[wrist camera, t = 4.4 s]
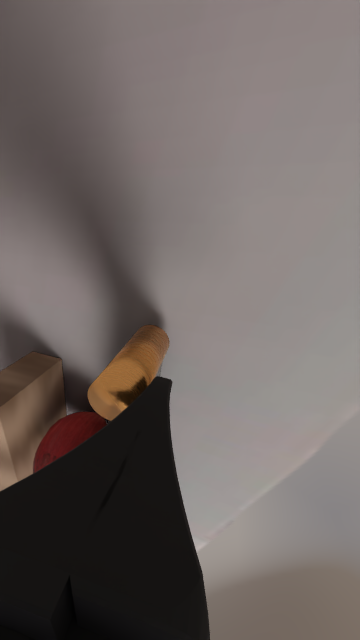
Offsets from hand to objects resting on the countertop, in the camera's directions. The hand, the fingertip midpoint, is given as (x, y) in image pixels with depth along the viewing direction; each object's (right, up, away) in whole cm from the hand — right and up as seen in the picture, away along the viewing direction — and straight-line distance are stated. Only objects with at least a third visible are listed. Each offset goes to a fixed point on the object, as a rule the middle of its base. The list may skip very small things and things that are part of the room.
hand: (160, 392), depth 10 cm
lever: (-3, -6, +9) cm, 11 cm away
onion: (-7, -6, +11) cm, 14 cm away
